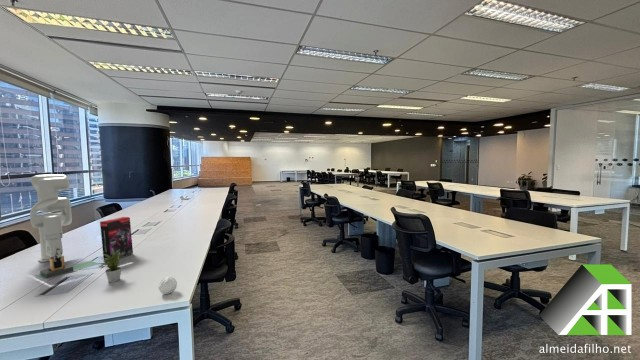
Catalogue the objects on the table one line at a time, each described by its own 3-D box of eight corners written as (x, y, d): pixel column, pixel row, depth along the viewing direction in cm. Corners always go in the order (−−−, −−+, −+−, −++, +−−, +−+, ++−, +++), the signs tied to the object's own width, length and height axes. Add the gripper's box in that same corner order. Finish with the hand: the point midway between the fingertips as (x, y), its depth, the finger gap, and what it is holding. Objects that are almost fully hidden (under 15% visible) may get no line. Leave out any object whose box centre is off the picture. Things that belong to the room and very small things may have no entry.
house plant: (102, 276, 154) (100, 248, 153) (131, 272, 159) (130, 245, 158) (93, 287, 141) (91, 256, 140) (125, 282, 146) (123, 252, 145)
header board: (35, 277, 156) (34, 270, 156) (90, 262, 179) (90, 256, 178) (43, 281, 150) (43, 274, 149) (99, 265, 172) (99, 259, 172)
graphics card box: (110, 262, 177) (107, 221, 176) (102, 262, 179) (99, 221, 177) (133, 254, 194) (131, 216, 192) (125, 253, 195) (123, 216, 194)
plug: (50, 273, 157) (49, 258, 157) (63, 270, 162) (62, 255, 162) (53, 274, 156) (51, 259, 155) (65, 271, 161) (64, 256, 160)
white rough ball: (157, 298, 127) (156, 282, 127) (160, 291, 134) (159, 276, 134) (176, 294, 131) (175, 279, 130) (178, 288, 138) (177, 273, 137)
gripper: (39, 236, 158) (41, 266, 159) (50, 239, 150) (53, 271, 151) (56, 233, 164) (58, 262, 165) (68, 236, 156) (70, 267, 157)
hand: (56, 266), depth 158 cm, fingers open, 5 cm apart
